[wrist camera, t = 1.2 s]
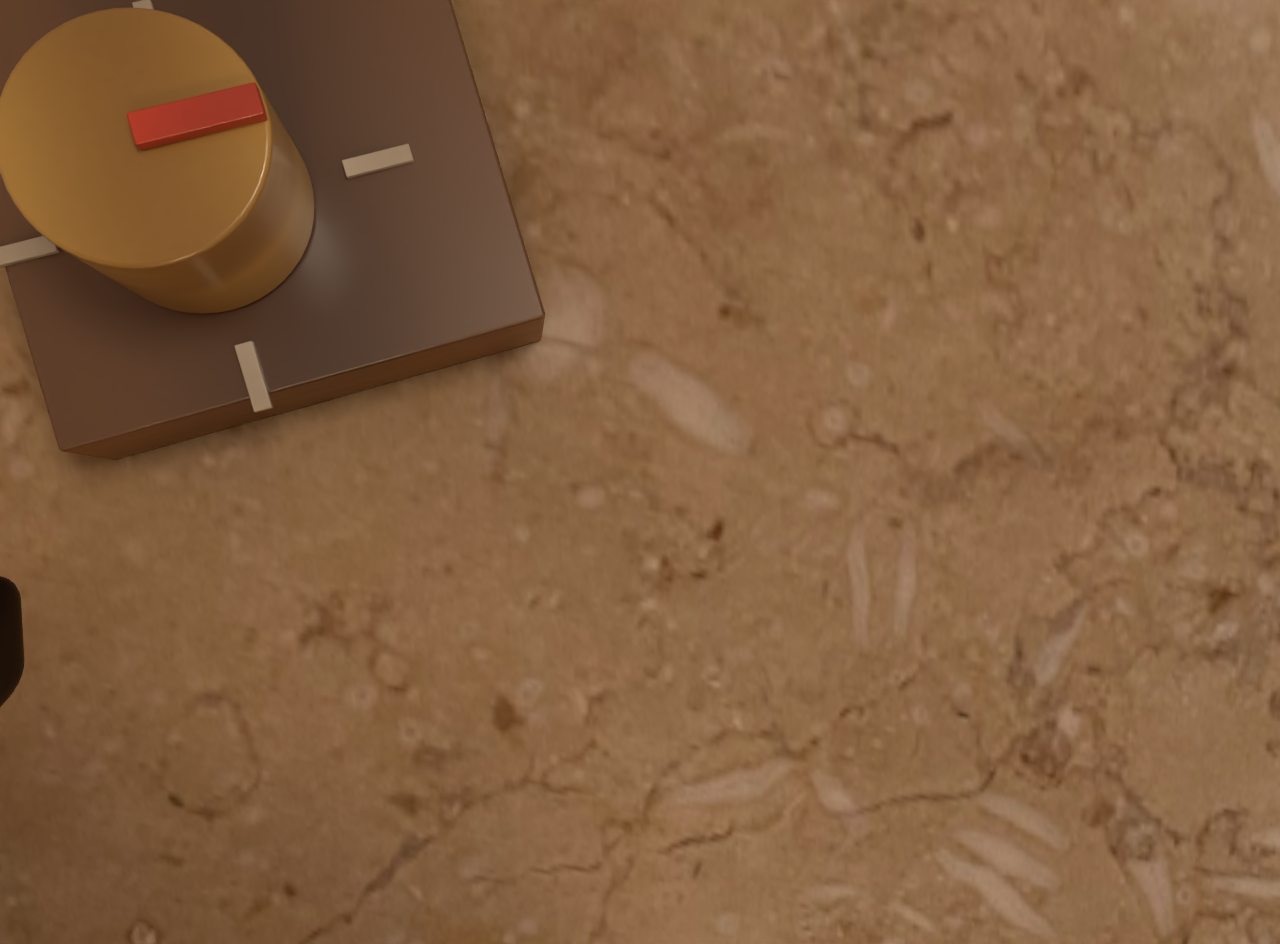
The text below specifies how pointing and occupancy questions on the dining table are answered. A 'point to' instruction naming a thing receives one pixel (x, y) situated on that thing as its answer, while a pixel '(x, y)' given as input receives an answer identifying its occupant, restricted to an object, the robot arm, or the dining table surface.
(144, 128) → the knob
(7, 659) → the robot arm
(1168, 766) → the dining table surface
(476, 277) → the panel
